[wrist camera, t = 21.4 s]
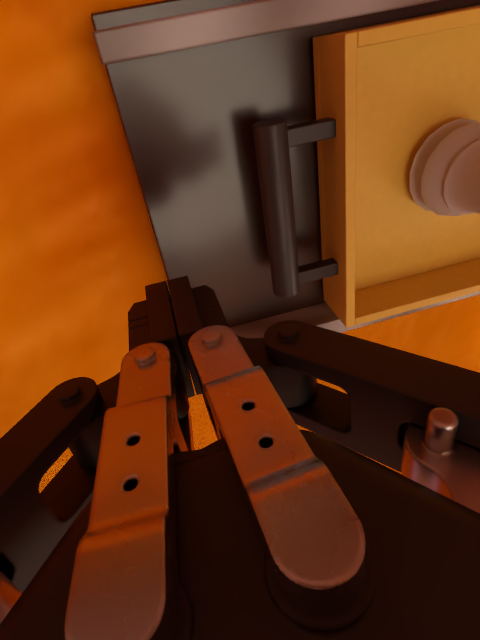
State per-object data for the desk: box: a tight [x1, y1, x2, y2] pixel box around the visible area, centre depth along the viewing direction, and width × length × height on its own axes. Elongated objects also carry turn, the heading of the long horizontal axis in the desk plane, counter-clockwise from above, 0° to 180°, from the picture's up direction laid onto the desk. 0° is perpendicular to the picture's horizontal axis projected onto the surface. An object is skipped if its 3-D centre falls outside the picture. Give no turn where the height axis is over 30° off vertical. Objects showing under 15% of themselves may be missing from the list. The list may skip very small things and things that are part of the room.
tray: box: [252, 4, 480, 328], centre depth 20 cm, size 16×13×3 cm
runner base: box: [91, 0, 480, 338], centre depth 21 cm, size 25×17×3 cm
